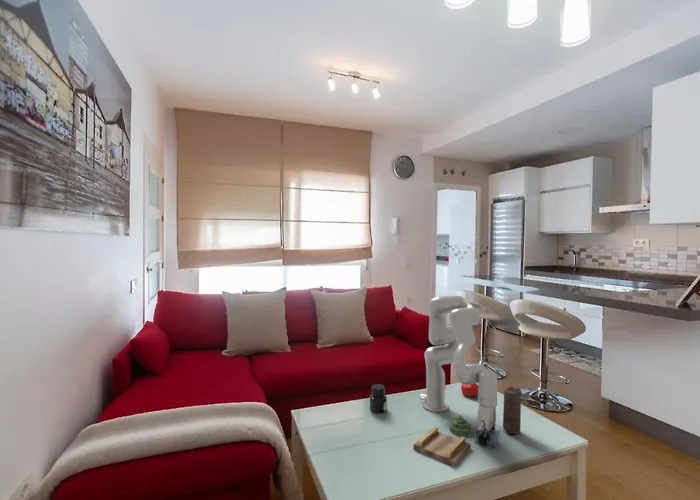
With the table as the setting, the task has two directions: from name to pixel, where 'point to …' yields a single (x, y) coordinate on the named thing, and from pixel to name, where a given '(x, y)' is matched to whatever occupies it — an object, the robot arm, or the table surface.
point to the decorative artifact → (460, 427)
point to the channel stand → (442, 446)
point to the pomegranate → (470, 390)
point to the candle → (512, 409)
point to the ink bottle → (378, 399)
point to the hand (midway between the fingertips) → (487, 439)
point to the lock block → (489, 438)
